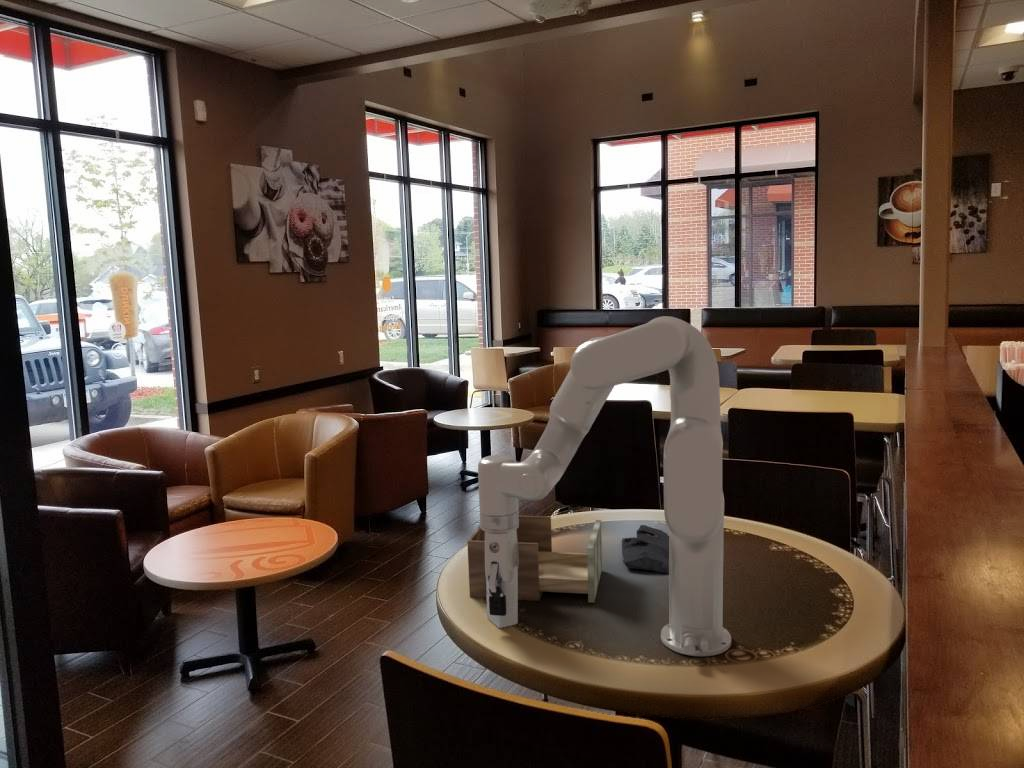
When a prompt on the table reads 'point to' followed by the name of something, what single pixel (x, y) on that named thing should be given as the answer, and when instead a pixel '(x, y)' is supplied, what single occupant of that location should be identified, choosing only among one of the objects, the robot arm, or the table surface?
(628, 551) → the black tote bag
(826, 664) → the table surface
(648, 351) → the robot arm
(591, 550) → the pull-out wooden drawer
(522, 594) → the walnut box
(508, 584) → the skincare box
